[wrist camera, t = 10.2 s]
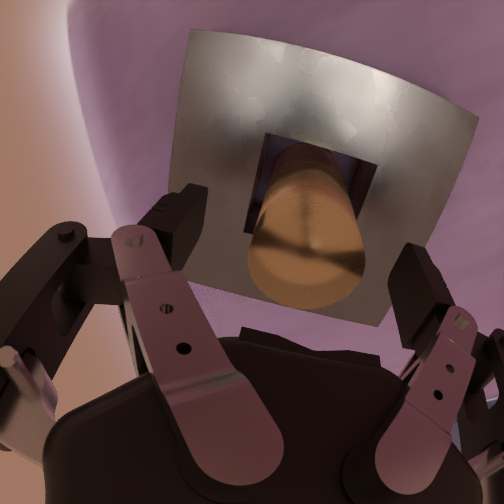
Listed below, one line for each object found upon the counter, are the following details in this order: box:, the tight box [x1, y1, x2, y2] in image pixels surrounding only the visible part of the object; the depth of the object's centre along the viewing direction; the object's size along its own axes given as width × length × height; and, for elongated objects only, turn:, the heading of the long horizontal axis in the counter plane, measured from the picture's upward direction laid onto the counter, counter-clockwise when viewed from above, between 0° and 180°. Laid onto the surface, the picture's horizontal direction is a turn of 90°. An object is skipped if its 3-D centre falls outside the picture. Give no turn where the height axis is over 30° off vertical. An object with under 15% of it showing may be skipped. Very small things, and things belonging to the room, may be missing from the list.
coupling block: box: [168, 29, 479, 327], centre depth 16 cm, size 14×14×4 cm
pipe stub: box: [247, 143, 366, 309], centre depth 14 cm, size 4×4×9 cm
